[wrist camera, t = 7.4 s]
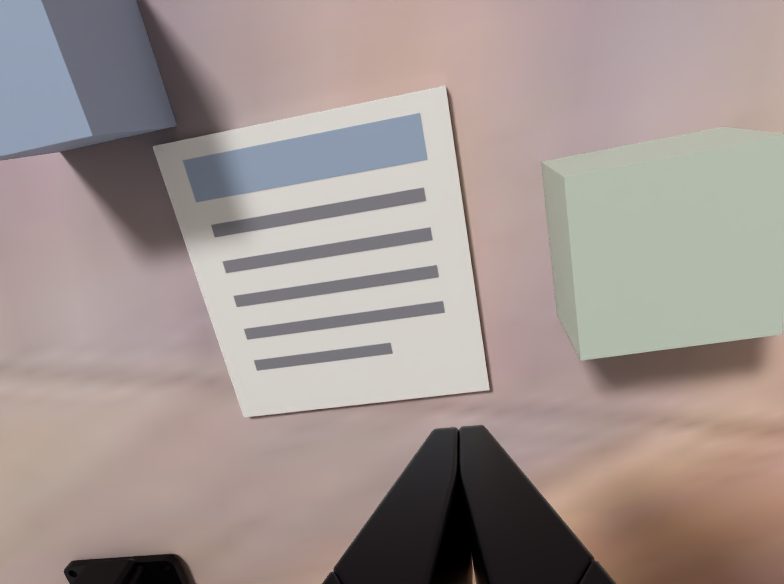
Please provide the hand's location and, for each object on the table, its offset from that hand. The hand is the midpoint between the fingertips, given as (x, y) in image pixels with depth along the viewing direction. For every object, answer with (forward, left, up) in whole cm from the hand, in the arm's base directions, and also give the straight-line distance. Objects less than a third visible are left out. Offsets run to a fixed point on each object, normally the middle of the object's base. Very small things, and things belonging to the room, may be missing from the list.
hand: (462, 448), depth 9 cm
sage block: (0, -7, -12) cm, 14 cm away
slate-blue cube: (+9, +12, -12) cm, 19 cm away
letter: (0, +5, -12) cm, 13 cm away
